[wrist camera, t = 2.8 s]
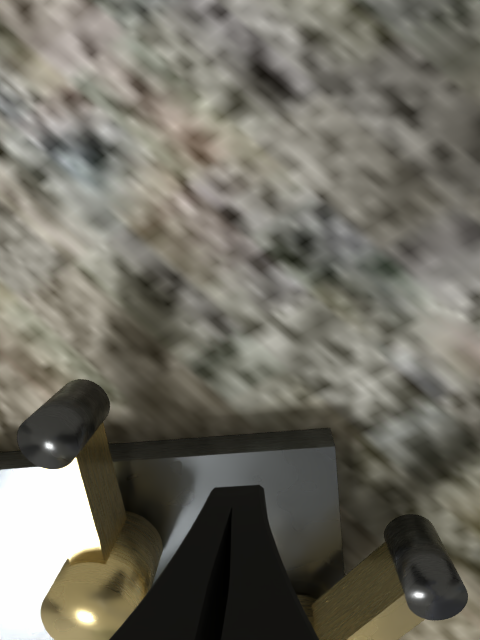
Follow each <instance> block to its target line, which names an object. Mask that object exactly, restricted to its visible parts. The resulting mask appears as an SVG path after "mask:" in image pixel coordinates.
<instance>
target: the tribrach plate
mask: <svg viewBox="0 0 480 640" xmlns="http://www.w3.org/2000/svg"><path fill="white" fill-rule="evenodd" d="M109 448H110V452H111V456H112V460H113V464H114V468H115V472H116V476H117V480H118V484H119V488H120V492H121V496H122V500H123V504H124V508H125V511H129V512H132V513H135V514H138V515H140V516H142V517H143V518H145V519H146V520H148V521H149V522H150V523H151V524H152V525H153V526H154V527H155V528H156V530H157V531H158V533H159V535H160V537H161V540H162V545H163V550H162V555H161V558H160V562H159V565H158V568H157V572H156V575H155V578H154V581H153V585H154V583H155V582H156V580H157V579H158V577H159V576H160V574H161V573H162V572H163V570H164V569H165V567H166V566H167V564H168V563H169V562H170V560H171V559H172V557H173V556H174V554H175V553H176V551H177V549H178V548H179V546H180V545H181V543H182V541H183V540H184V538H185V537H186V535H187V533H188V532H189V530H190V529H191V527H192V525H193V523H194V522H195V520H196V518H197V516H198V515H199V513H200V511H201V509H202V507H203V506H204V504H205V502H206V500H207V498H208V496H209V494H210V492H211V491H212V490H213V489H214V487H230V486H247V485H260V486H262V487H263V488H264V493H265V500H266V508H267V515H268V521H269V525H270V528H271V531H272V534H273V537H274V540H275V543H276V546H277V549H278V552H279V554H280V557H281V560H282V562H283V565H284V567H285V570H286V572H287V574H288V577H289V579H290V581H291V584H292V586H293V588H294V590H295V593H296V595H306V596H310V597H314V598H316V599H319V598H320V597H321V596H322V595H323V594H325V593H326V592H327V591H328V590H329V589H330V588H332V587H333V586H334V585H335V584H336V583H337V582H339V581H340V580H341V579H342V578H343V577H344V565H343V551H342V537H341V523H340V509H339V495H338V481H337V466H336V452H335V444H334V441H333V437H332V434H331V430H330V428H325V429H311V430H298V431H284V432H271V433H257V434H244V435H230V436H217V437H203V438H190V439H176V440H163V441H149V442H136V443H122V444H109ZM67 557H68V556H67V553H66V549H65V546H64V543H63V540H62V536H61V533H60V530H59V527H58V523H57V520H56V517H55V514H54V510H53V507H52V504H51V501H50V498H49V494H48V491H47V488H46V485H45V481H44V478H43V475H42V472H41V468H40V467H39V466H36V465H35V464H33V463H32V462H30V461H29V460H28V459H27V458H26V457H25V456H24V455H23V453H22V452H21V451H14V452H0V640H54V639H53V638H52V637H51V636H50V635H49V634H48V632H47V631H46V629H45V628H44V626H43V623H42V620H41V615H40V610H41V604H42V602H43V600H44V598H45V596H46V594H47V592H48V591H49V589H50V587H51V585H52V584H53V582H54V580H55V578H56V577H57V575H58V573H59V571H60V570H61V568H62V566H63V564H64V563H65V561H66V559H67ZM153 585H152V586H153Z"/></svg>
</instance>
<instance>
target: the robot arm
mask: <svg viewBox="0 0 480 640" xmlns="http://www.w3.org/2000/svg"><path fill="white" fill-rule="evenodd" d="M109 640H319V638H318V636H317V634H316V632H315V631H314V629H313V627H312V625H311V623H310V621H309V619H308V617H307V615H306V613H305V611H304V609H303V607H302V605H301V603H300V601H299V599H298V597H297V595H296V593H295V590H294V588H293V586H292V584H291V581H290V579H289V577H288V574H287V572H286V570H285V567H284V565H283V562H282V560H281V557H280V554H279V552H278V549H277V546H276V543H275V540H274V537H273V534H272V531H271V528H270V525H269V521H268V515H267V508H266V500H265V493H264V488H263V487H262V486H260V485H247V486H230V487H214V489H213V490H212V491H211V492H210V494H209V496H208V498H207V500H206V502H205V504H204V506H203V507H202V509H201V511H200V513H199V515H198V516H197V518H196V520H195V522H194V523H193V525H192V527H191V529H190V530H189V532H188V533H187V535H186V537H185V538H184V540H183V541H182V543H181V545H180V546H179V548H178V549H177V551H176V553H175V554H174V556H173V557H172V559H171V560H170V562H169V563H168V564H167V566H166V567H165V569H164V570H163V572H162V573H161V574H160V576H159V577H158V579H157V580H156V582H155V583H154V585H153V586H152V587H151V589H150V590H149V591H148V593H147V594H146V595H145V597H144V598H143V599H142V601H141V602H140V603H139V604H138V606H137V607H136V608H135V609H134V611H133V612H132V613H131V614H130V616H129V617H128V618H127V619H126V620H125V622H124V623H123V624H122V625H121V627H120V628H119V629H118V630H117V631H116V632H115V633H114V635H113V636H112V637H111V638H110V639H109Z"/></svg>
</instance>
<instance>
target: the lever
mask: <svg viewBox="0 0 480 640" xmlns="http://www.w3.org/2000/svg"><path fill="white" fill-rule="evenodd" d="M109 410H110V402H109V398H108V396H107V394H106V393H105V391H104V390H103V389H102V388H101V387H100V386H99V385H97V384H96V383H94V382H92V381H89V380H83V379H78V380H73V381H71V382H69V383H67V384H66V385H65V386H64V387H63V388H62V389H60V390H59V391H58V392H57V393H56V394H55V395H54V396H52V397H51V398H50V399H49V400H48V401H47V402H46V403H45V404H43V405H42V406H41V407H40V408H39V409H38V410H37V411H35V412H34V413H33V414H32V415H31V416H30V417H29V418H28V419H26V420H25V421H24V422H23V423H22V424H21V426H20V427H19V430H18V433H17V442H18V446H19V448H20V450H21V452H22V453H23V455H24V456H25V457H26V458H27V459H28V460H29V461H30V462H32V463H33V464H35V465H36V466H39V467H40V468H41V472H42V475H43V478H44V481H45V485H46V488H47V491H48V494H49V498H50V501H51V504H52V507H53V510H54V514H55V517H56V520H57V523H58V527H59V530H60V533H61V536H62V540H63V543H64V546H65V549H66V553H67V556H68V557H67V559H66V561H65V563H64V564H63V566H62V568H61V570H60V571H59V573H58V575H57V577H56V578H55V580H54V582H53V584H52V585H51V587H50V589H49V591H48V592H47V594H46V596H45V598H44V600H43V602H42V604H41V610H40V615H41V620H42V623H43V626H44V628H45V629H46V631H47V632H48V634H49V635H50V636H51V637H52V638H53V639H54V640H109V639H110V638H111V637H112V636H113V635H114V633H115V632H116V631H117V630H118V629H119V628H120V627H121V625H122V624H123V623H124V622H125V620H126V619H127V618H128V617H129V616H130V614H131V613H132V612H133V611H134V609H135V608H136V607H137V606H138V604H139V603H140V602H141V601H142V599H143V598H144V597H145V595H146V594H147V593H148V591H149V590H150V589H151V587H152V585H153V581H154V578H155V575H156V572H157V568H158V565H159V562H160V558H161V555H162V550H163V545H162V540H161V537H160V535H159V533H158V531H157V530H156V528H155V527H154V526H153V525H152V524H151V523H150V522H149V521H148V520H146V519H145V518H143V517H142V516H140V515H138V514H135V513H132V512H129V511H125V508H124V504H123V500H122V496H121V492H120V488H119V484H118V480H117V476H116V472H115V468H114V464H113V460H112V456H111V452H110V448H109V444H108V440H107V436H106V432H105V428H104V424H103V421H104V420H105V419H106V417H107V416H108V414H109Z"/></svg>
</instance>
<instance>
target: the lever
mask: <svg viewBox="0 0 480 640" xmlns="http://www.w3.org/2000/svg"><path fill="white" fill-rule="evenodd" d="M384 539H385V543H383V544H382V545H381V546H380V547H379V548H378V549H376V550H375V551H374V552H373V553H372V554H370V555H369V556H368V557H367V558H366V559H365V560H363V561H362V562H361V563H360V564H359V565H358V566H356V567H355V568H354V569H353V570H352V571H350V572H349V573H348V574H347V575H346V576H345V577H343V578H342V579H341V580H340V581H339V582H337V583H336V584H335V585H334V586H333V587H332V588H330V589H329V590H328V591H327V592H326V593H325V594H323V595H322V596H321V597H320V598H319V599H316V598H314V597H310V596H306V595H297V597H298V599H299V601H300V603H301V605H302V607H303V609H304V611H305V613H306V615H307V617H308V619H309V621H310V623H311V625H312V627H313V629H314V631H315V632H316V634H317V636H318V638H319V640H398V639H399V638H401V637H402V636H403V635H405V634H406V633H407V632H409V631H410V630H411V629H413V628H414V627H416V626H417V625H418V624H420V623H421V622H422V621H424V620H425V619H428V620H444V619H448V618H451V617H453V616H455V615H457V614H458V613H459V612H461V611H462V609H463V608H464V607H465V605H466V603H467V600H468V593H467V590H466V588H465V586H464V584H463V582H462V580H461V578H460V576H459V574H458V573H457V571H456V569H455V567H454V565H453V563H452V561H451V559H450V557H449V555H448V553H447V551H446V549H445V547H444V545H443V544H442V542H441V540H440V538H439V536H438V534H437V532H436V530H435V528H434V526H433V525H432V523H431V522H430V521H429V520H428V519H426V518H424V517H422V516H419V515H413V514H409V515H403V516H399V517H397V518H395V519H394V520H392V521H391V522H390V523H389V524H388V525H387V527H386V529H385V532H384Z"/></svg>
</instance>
